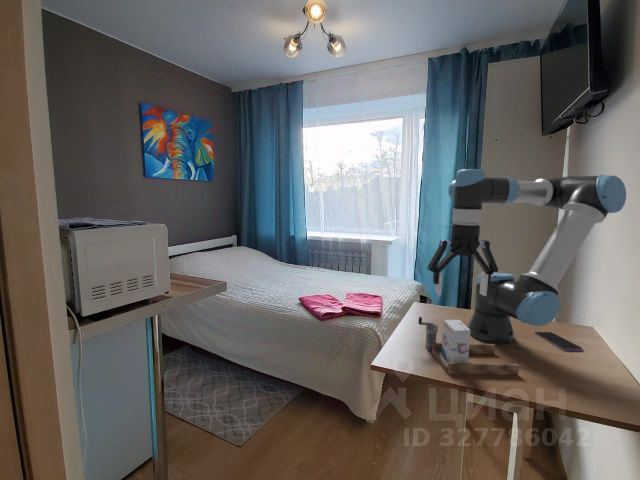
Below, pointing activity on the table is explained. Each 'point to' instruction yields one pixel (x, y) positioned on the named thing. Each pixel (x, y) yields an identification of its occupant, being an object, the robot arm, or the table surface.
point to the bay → (473, 348)
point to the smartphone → (558, 341)
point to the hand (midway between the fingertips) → (460, 294)
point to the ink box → (455, 341)
